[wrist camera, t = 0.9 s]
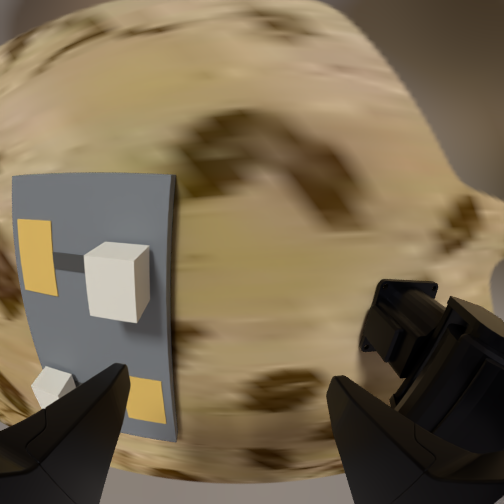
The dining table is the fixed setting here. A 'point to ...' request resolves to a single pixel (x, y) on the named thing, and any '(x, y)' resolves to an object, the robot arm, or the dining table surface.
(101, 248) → the slider
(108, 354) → the switch panel
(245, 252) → the dining table surface
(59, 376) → the slider
